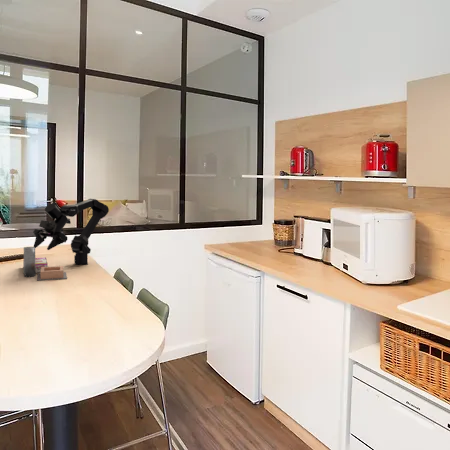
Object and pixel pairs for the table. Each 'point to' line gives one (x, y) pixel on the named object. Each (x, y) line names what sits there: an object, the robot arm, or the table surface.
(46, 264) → the candy bar box
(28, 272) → the metal pin
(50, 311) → the table surface
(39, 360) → the table surface
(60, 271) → the terracotta socket
